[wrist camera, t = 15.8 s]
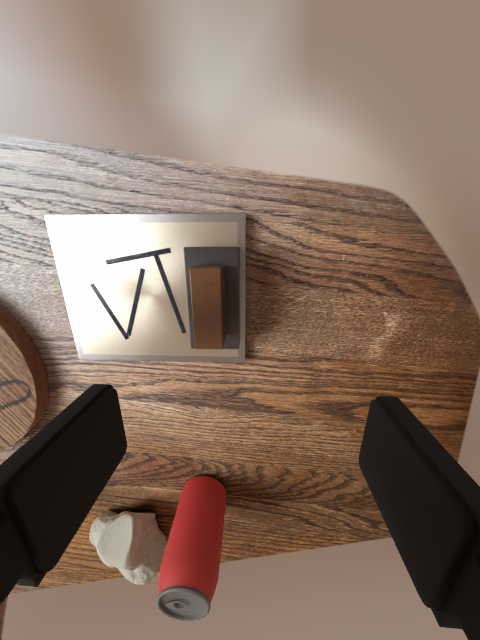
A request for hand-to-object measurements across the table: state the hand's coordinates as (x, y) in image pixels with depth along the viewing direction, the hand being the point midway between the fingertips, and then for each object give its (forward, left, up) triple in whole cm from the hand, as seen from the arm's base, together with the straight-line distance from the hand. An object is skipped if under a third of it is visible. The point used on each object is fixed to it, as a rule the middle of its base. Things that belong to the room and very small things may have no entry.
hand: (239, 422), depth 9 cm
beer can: (+6, +29, -18) cm, 35 cm away
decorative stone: (+18, +37, -18) cm, 45 cm away
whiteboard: (+10, -1, -18) cm, 21 cm away
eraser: (+3, -1, -17) cm, 17 cm away
